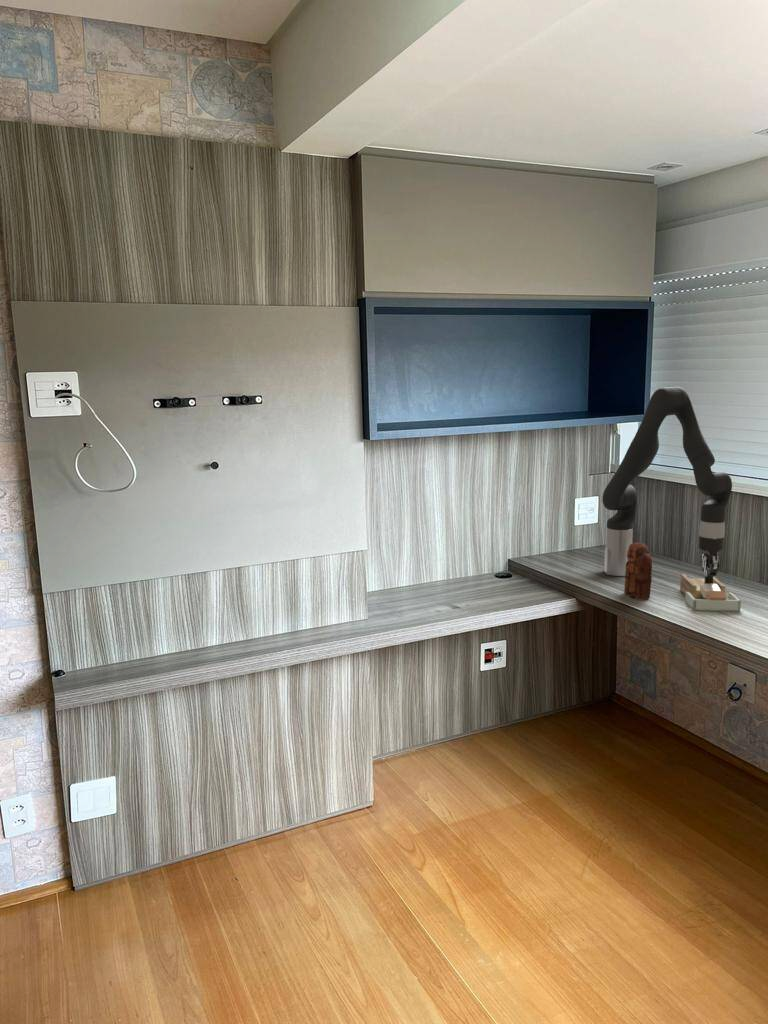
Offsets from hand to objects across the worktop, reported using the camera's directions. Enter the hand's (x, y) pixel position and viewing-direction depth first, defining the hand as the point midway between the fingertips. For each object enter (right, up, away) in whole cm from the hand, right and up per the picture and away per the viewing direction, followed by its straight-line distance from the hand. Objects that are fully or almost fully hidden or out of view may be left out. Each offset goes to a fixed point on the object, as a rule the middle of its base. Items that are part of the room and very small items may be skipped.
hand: (708, 587), depth 248 cm
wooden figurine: (-20, -4, +9) cm, 22 cm away
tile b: (-1, -2, -6) cm, 7 cm away
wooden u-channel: (+1, -4, +7) cm, 8 cm away
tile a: (-1, -2, -3) cm, 4 cm away
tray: (-1, -6, -5) cm, 8 cm away
